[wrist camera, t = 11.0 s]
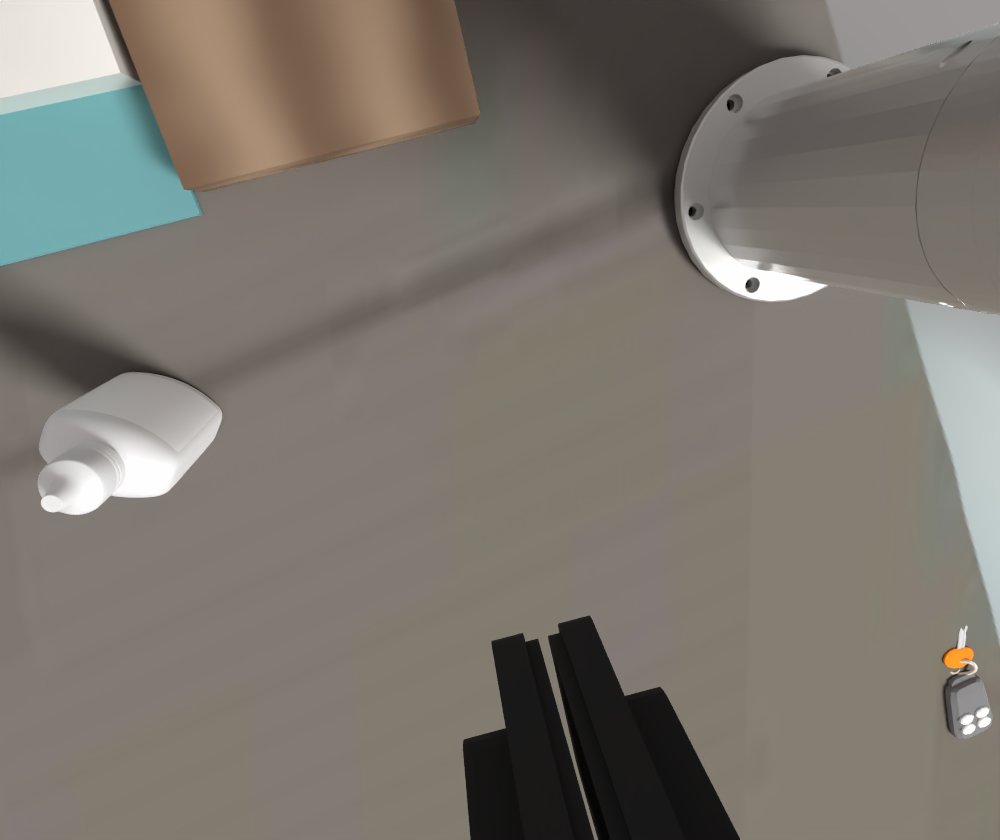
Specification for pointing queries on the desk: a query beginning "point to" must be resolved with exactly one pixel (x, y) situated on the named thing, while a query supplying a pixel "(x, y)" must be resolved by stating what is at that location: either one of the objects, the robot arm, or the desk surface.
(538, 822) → the robot arm
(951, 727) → the key chain
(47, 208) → the mat
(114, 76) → the tile
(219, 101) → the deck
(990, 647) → the desk surface
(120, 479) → the eye dropper bottle
